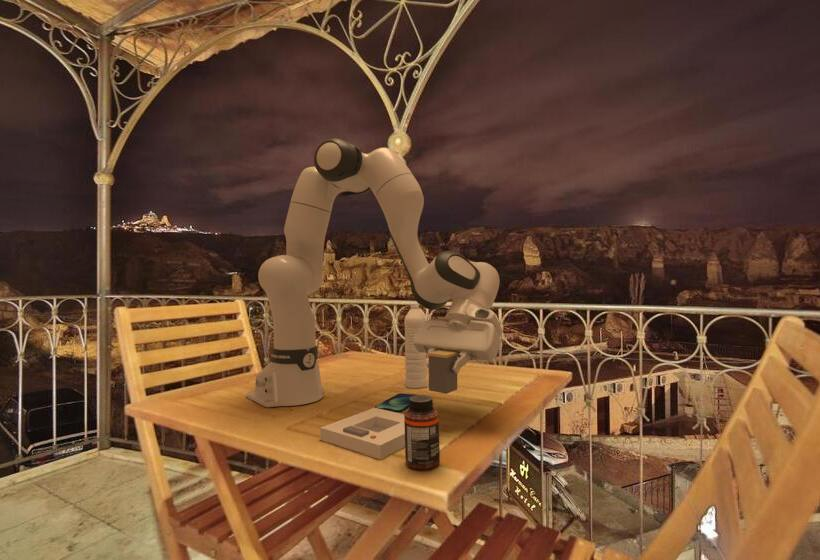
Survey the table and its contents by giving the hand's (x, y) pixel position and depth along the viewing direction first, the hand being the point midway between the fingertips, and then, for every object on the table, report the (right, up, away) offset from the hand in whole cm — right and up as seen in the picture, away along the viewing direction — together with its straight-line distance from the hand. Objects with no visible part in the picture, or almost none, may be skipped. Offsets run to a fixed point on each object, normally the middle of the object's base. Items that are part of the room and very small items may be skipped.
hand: (441, 369), depth 88 cm
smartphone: (-9, -14, +20) cm, 26 cm away
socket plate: (-13, -13, -4) cm, 19 cm away
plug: (0, -4, +1) cm, 4 cm away
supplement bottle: (-5, -13, -17) cm, 22 cm away
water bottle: (-4, -13, +37) cm, 39 cm away
